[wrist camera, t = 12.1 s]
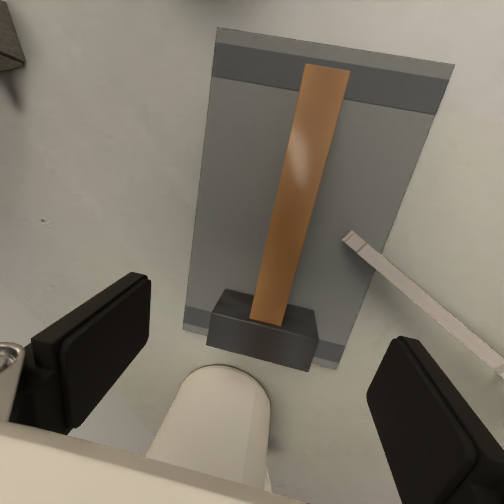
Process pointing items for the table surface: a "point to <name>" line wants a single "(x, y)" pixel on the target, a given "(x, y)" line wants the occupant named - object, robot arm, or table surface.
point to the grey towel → (333, 179)
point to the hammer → (286, 238)
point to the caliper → (426, 302)
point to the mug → (218, 427)
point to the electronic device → (8, 42)
